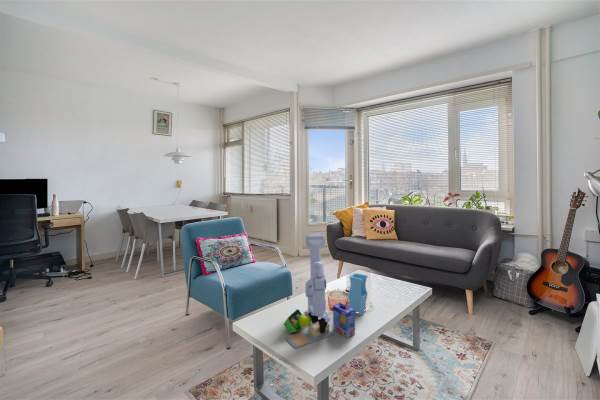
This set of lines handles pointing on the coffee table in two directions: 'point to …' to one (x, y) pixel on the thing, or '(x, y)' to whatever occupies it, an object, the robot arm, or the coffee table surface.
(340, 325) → the ink cartridge box
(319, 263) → the robot arm
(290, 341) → the mat
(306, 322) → the fruit basket
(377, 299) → the coffee table surface
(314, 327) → the tan rectangular block
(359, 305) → the vase
